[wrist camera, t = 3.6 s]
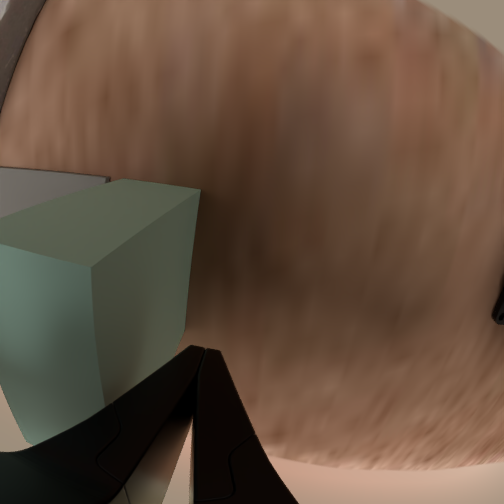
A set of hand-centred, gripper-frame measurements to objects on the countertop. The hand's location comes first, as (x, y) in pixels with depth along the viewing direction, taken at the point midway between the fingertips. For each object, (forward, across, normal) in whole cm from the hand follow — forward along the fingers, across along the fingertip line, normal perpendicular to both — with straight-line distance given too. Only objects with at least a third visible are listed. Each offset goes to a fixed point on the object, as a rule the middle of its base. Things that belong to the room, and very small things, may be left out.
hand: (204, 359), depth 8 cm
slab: (+6, +4, 0) cm, 7 cm away
